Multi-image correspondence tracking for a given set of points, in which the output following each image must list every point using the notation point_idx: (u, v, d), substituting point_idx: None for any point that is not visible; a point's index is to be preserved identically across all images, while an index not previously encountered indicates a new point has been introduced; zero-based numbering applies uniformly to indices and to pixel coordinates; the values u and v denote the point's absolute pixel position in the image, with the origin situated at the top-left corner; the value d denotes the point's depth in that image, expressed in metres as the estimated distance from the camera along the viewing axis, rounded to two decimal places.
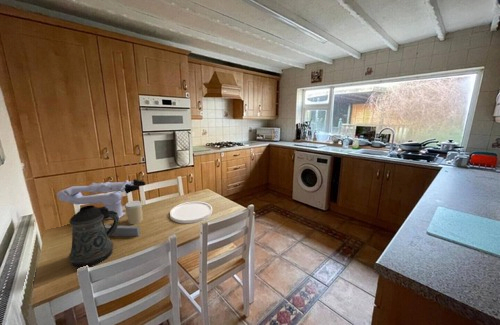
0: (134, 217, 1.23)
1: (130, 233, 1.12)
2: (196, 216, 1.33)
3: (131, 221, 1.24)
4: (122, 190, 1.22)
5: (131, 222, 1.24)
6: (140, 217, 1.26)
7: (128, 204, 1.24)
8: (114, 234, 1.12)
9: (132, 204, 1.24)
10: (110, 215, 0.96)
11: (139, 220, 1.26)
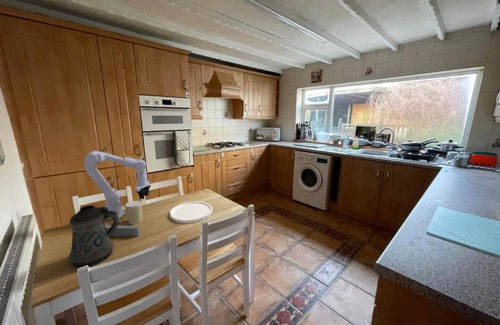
0: (134, 217, 1.23)
1: (130, 233, 1.12)
2: (196, 216, 1.33)
3: (131, 221, 1.24)
4: (137, 190, 1.29)
5: (131, 222, 1.24)
6: (140, 217, 1.26)
7: (128, 204, 1.24)
8: (114, 234, 1.12)
9: (132, 204, 1.24)
10: (110, 215, 0.96)
11: (139, 220, 1.26)
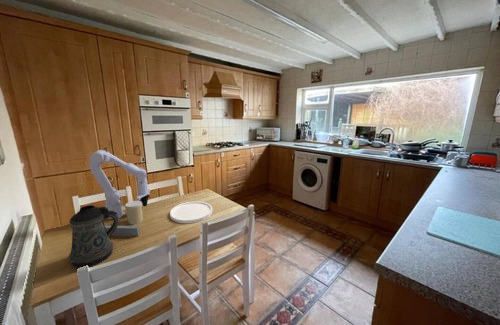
0: (134, 217, 1.23)
1: (130, 233, 1.12)
2: (196, 216, 1.33)
3: (131, 221, 1.24)
4: (138, 199, 1.30)
5: (131, 222, 1.24)
6: (140, 217, 1.26)
7: (128, 204, 1.24)
8: (114, 234, 1.12)
9: (132, 204, 1.24)
10: (110, 215, 0.96)
11: (139, 220, 1.26)
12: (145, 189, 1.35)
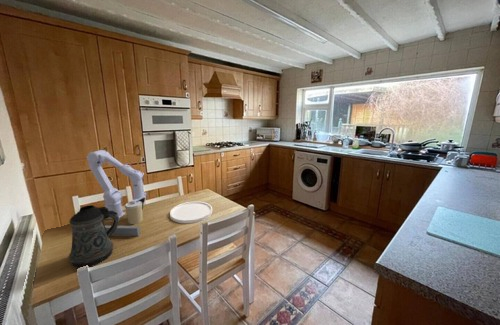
0: (134, 217, 1.23)
1: (130, 233, 1.12)
2: (196, 216, 1.33)
3: (131, 221, 1.24)
4: (133, 202, 1.25)
5: (131, 222, 1.24)
6: (140, 217, 1.26)
7: (128, 204, 1.24)
8: (114, 234, 1.12)
9: (132, 204, 1.24)
10: (110, 215, 0.96)
11: (139, 220, 1.26)
12: (141, 192, 1.29)
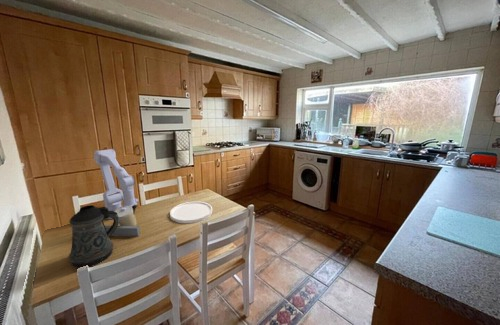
0: (127, 225, 1.16)
1: (130, 233, 1.12)
2: (196, 216, 1.33)
3: None
4: (122, 210, 1.14)
5: None
6: (133, 223, 1.18)
7: (117, 212, 1.13)
8: (114, 234, 1.12)
9: (122, 212, 1.14)
10: (110, 215, 0.96)
11: (133, 225, 1.19)
12: (131, 199, 1.19)
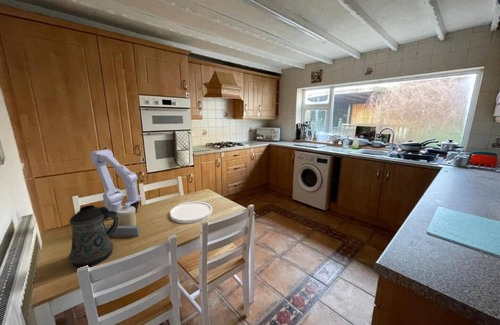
0: (127, 224, 1.16)
1: (130, 233, 1.12)
2: (196, 216, 1.33)
3: None
4: (126, 206, 1.18)
5: None
6: (133, 224, 1.19)
7: (120, 210, 1.16)
8: (114, 234, 1.12)
9: (125, 210, 1.16)
10: (110, 215, 0.96)
11: None
12: (134, 195, 1.22)
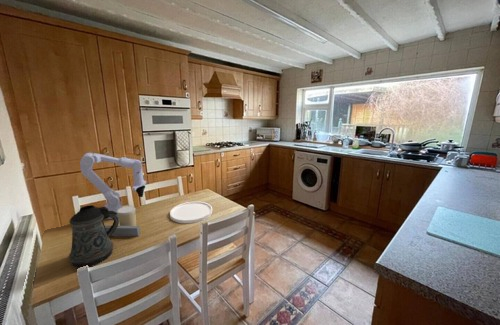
0: (127, 224, 1.16)
1: (130, 233, 1.12)
2: (196, 216, 1.33)
3: None
4: (133, 189, 1.30)
5: None
6: (133, 224, 1.19)
7: (120, 210, 1.16)
8: (114, 234, 1.12)
9: (125, 210, 1.16)
10: (110, 215, 0.96)
11: None
12: (141, 180, 1.35)
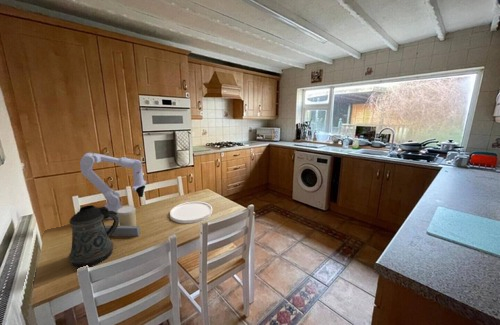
0: (127, 224, 1.16)
1: (130, 233, 1.12)
2: (196, 216, 1.33)
3: None
4: (133, 189, 1.30)
5: None
6: (133, 224, 1.19)
7: (120, 210, 1.16)
8: (114, 234, 1.12)
9: (125, 210, 1.16)
10: (110, 215, 0.96)
11: None
12: (141, 180, 1.35)
